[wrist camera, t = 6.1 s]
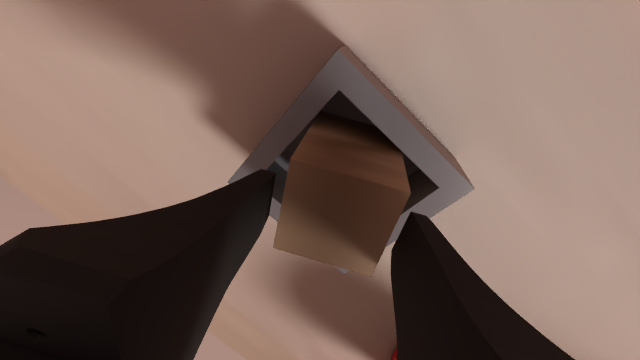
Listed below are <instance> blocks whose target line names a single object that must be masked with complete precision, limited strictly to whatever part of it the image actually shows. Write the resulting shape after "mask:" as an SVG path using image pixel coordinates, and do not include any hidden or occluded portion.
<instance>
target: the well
mask: <svg viewBox="0 0 640 360" xmlns="http://www.w3.org/2000/svg"><path fill="white" fill-rule="evenodd" d="M320 111H323V112H327V113H330V114H334V115H338V116H341V117H345V118H348V119H352V120H356V121H359V122H363V123H366V124H370V125H374V126H377V127H378V128H379V129H380V130H381V131H382V132H383V133H384V134H385V135H386V136H387V137H388V138H389V139H390V140H391V141H392V142H393V143H394V144H395V145H396V146H397V147H398V148H399V149H400V150H401V152H402V157H403V161H404V165H405V170H406V174H407V178H408V182H409V187H410V191H411V194H410V196H409V198H408V200H407V203H406V205H405V207H404V209H403V211H402V213H401V215H400V217H399V219H398V222H397V224H396V226H395V228H394V230H393V232H392V234H391V236H390V238H389V240H388V243H387V245H386V246H388V245H389V244H391V243H392V242H394V241H396V240H397V238H398V236H399V234H400V232H401V230H402V228H403V226H404V224H405V222H406V220H407V218H408V216H409V214H410V212H415V213H418V214H422V215H425V216H427V217H428V218H431V217H432V216H434V215H435V214H437V213H439V212H440V211H442V210H443V209H445V208H446V207H448V206H449V205H451V204H452V203H454V202H455V201H457V200H458V199H460V198H462V197H463V196H465V195H466V194H468V193H469V192H471V191H472V190H474V189H475V188H474V187H473V185H472V184H471V182H470V180H469V179H468V177H467V176H466V174H465V173H464V171H463V169H462V168H461V166H460V165H459V163H458V162H457V160H456V158H455V157H454V156H453V155H452V154H451V153H450V152H449V151H448V150H447V149H446V148H445V147H444V146H443V145H442V144H441V143H440V142H439V141H438V140H437V139H436V138H435V137H434V136H433V135H432V134H431V133H430V132H429V131H428V129H427V128H426V127H425V126H424V125H423V124H422V123H421V122H420V121H419V120H418V119H417V118H416V117H415V116H414V115H413V114H412V113H411V112H410V111H409V110H408V109H407V108H406V107H405V106H404V105H403V104H402V103H401V102H400V101H399V100H398V99H397V98H396V96H395V95H394V94H393V93H392V92H391V91H390V90H389V89H388V88H387V87H386V86H385V85H384V84H383V83H382V82H381V81H380V80H379V79H378V78H377V77H376V76H375V75H374V74H373V73H372V72H371V71H370V70H369V69H368V68H367V67H366V66H365V65H364V64H363V62H362V61H361V60H360V59H359V58H358V57H357V56H356V55H355V54H354V53H353V52H352V51H351V50H350V49H349V48H348V47H347V46H346V45H344V46H343V47H341V48H340V49H338V50H337V51H336V52H335V54H334V55H333V56H332V57H331V58H330V60H329V61H328V62H327V63H326V64H325V66H324V67H323V68H322V69H321V70H320V72H319V73H318V74H317V75H316V76H315V78H314V79H313V80H312V81H311V82H310V84H309V85H308V86H307V87H306V88H305V90H304V91H303V92H302V93H301V94H300V96H299V97H298V98H297V99H296V100H295V102H294V103H293V104H292V105H291V106H290V108H289V109H288V110H287V111H286V112H285V114H284V115H283V116H282V117H281V118H280V120H279V121H278V122H277V123H276V124H275V126H274V127H273V128H272V129H271V130H270V132H269V133H268V134H267V135H266V136H265V138H264V139H263V140H262V141H261V142H260V144H259V145H258V146H257V147H256V148H255V150H254V151H253V152H252V153H251V154H250V156H249V157H248V158H247V159H246V160H245V162H244V163H243V164H242V165H241V166H240V168H239V169H238V170H237V171H236V172H235V174H234V175H233V176H232V177H231V178H230V180H229V181H228V183H229V184H231V183H233V182H235V181H237V180H239V179H241V178H243V177H245V176H247V175H249V174H251V173H253V172H255V171H257V170H260V169H264V170H267V171H271V172H274V173H276V177H275V183H274V189H273V195H272V201H271V207H270V213H269V215H270V216H271V217H273V218H274V219H275V220H276V221H278V219H279V214H280V209H281V204H282V199H283V193H284V188H285V183H286V178H287V173H288V168H289V162H290V158H291V157H292V155H293V154H294V152H295V150H296V149H297V147H298V146H299V144H300V142H301V141H302V139H303V138H304V136H305V135H306V133H307V131H308V130H309V128H310V127H311V125H312V123H313V122H314V120H315V119H316V117H317V115H318V114H319V112H320ZM335 267H336V266H335ZM336 268H337V269H338V270H340V271H341V272H342V273H343V274H345V273H346V272H348V271H350V270H347V269H343V268H340V267H336Z"/></svg>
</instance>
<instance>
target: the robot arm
mask: <svg viewBox="0 0 640 360" xmlns="http://www.w3.org/2000/svg"><path fill="white" fill-rule="evenodd" d="M275 177H276V173H274V172H271V171H267V170H264V169H260V170H257V171H255V172H253V173H251V174H249V175H247V176H245V177H243V178H241V179H239V180H237V181H235V182H233V183H231V184H229V185H227V186H225V187H222V188H220V189H217V190H215V191H212V192H210V193H208V194H205V195H203V196H200V197H197V198H195V199H192V200H189V201H186V202H182V203H179V204H176V205H173V206H169V207H165V208H161V209H157V210H153V211H148V212H144V213H140V214H136V215H131V216H125V217H120V218H114V219H108V220H101V221H95V222H87V223H79V224H69V225H60V226H50V227H40V228H29V229H28V230H26V231H24V232H22V233H21V234H19V235H17V236H16V237H14V238H12V239H11V240H9V241H7V242H5V243H4V244H2V245H1V246H0V360H193V359H194V357H195V355H196V353H197V350H198V348H199V346H200V344H201V342H202V340H203V338H204V335H205V333H206V331H207V329H208V327H209V325H210V323H211V321H212V318H213V316H214V314H215V312H216V310H217V308H218V306H219V304H220V302H221V300H222V298H223V296H224V294H225V292H226V290H227V288H228V287H229V285H230V283H231V281H232V280H233V278H234V276H235V275H236V273H237V271H238V270H239V268H240V267H241V265H242V263H243V262H244V260H245V259H246V257H247V255H248V254H249V252H250V251H251V249H252V247H253V246H254V244H255V242H256V241H257V239H258V238H259V236H260V234H261V232H262V230H263V227H264V225H265V223H266V221H267V218H268V216H269V213H270V207H271V201H272V195H273V189H274V183H275ZM391 281H392V292H393V301H394V311H395V320H396V330H397V360H575V359H573V358H572V357H571V356H569V355H568V354H567V353H565V352H564V351H563V350H561V349H560V348H559V347H558V346H556V345H555V344H554V343H552V342H551V341H550V340H549V339H547V338H546V337H545V336H544V335H542V334H541V333H540V332H539V331H538V330H536V329H535V328H534V327H533V326H532V325H530V324H529V323H528V322H527V321H526V320H524V319H523V318H522V317H521V316H520V315H519V314H517V313H516V312H515V311H514V310H513V309H512V308H511V307H510V306H508V305H507V304H506V303H505V302H504V301H503V300H502V299H501V298H500V297H499V296H498V295H497V294H496V293H495V292H494V291H493V290H492V289H491V288H490V287H489V286H488V285H487V284H486V283H485V282H484V281H483V280H482V279H481V278H480V277H479V276H478V275H477V274H476V273H475V272H474V271H473V270H472V269H471V267H470V266H469V265H468V264H467V263H466V262H465V261H464V260H463V258H462V257H461V256H460V255H459V254H458V253H457V251H456V250H455V249H454V248H453V247H452V245H451V244H450V243H449V242H448V241H447V239H446V238H445V237H444V236H443V234H442V233H441V232H440V231H439V230H438V228H437V227H436V226H435V225H434V224H433V222H432V221H431V220H430V219H429V218H428V217H427V216H425V215H422V214H418V213H415V212H410V214H409V216H408V218H407V220H406V222H405V224H404V226H403V228H402V230H401V232H400V234H399V236H398V238H397V240H396V242H395V244H394V246H393V248H392V255H391Z"/></svg>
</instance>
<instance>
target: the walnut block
mask: <svg viewBox="0 0 640 360" xmlns="http://www.w3.org/2000/svg"><path fill="white" fill-rule="evenodd" d="M410 194H411V191H410V187H409V182H408V178H407V174H406V170H405V165H404V161H403V157H402V152H401V150H400V149H399V148H398V147H397V146H396V145H395V144H394V143H393V142H392V141H391V140H390V139H389V138H388V137H387V136H386V135H385V134H384V133H383V132H382V131H381V130H380V129H379V128H378V127H377V126H374V125H370V124H366V123H363V122H359V121H356V120H352V119H348V118H345V117H341V116H338V115H334V114H330V113H327V112H323V111H320V112H319V114H318V115H317V117H316V119H315V120H314V122H313V123H312V125H311V127H310V128H309V130H308V131H307V133H306V135H305V136H304V138H303V139H302V141H301V142H300V144H299V146H298V147H297V149H296V150H295V152H294V154H293V155H292V157H291V158H290V162H289V168H288V173H287V178H286V183H285V188H284V193H283V199H282V204H281V209H280V214H279V219H278V224H277V230H276V235H275V240H274V245H273V248H276V249H279V250H282V251H286V252H289V253H292V254H296V255H299V256H303V257H306V258H309V259H313V260H316V261H320V262H323V263H326V264H330V265H333V266H336V267H340V268H343V269H347V270H350V271H353V272H357V273H360V274H364V275H367V276H370V277H371V276H372V274H373V272H374V270H375V268H376V266H377V264H378V262H379V259H380V257H381V255H382V253H383V251H384V249H385V247H386V245H387V243H388V240H389V238H390V236H391V234H392V232H393V230H394V228H395V226H396V224H397V222H398V219H399V217H400V215H401V213H402V211H403V209H404V207H405V205H406V203H407V200H408V198H409V196H410Z"/></svg>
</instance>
